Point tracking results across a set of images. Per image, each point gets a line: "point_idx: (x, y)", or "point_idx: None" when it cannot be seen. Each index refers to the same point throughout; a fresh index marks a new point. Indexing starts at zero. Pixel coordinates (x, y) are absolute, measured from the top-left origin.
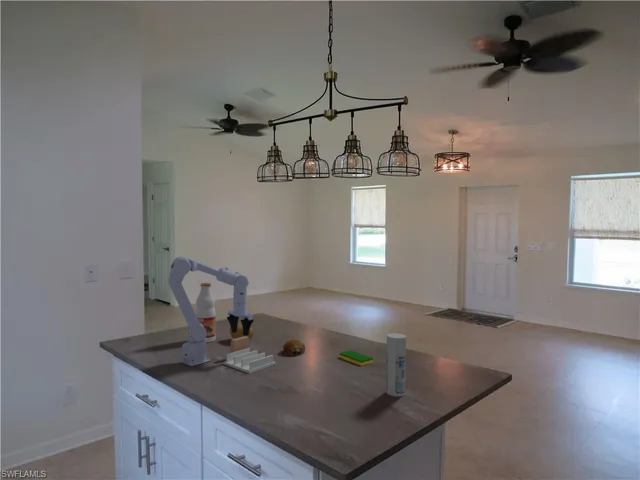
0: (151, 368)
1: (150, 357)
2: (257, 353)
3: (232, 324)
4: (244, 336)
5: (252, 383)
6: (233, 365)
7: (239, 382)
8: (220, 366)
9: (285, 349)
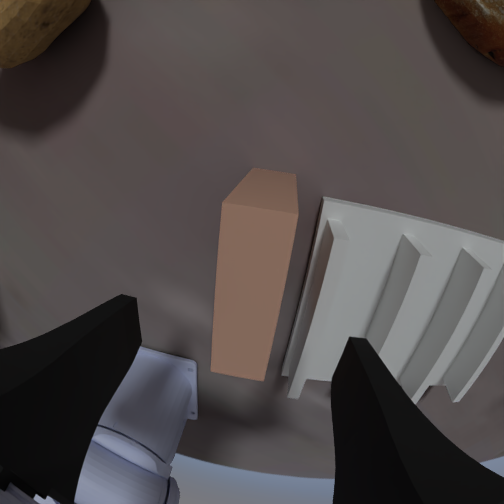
0: None
1: None
2: (424, 248)
3: (94, 417)
4: (228, 225)
5: (470, 409)
6: None
7: (435, 424)
8: None
9: (498, 51)
